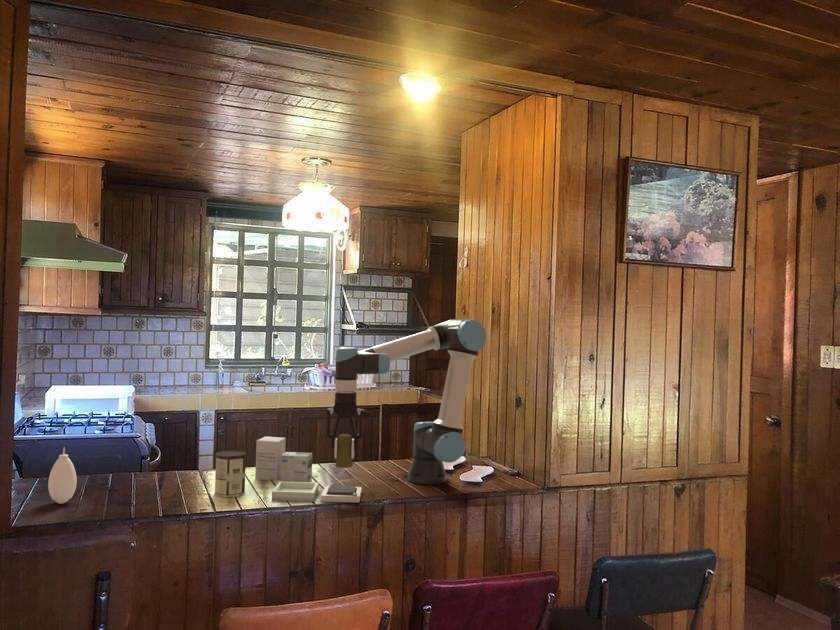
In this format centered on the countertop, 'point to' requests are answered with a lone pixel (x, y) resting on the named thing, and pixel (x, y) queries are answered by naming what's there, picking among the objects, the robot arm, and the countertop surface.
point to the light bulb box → (296, 467)
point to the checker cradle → (341, 496)
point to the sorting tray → (295, 491)
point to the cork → (344, 451)
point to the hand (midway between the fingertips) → (344, 457)
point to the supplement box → (269, 457)
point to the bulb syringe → (62, 479)
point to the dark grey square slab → (341, 490)
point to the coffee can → (230, 473)
